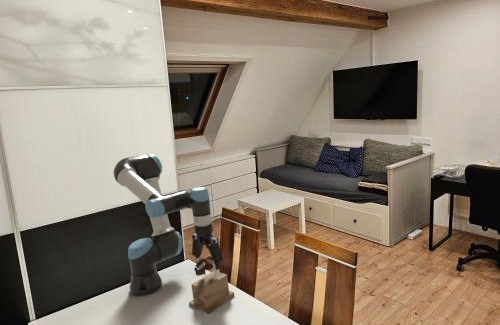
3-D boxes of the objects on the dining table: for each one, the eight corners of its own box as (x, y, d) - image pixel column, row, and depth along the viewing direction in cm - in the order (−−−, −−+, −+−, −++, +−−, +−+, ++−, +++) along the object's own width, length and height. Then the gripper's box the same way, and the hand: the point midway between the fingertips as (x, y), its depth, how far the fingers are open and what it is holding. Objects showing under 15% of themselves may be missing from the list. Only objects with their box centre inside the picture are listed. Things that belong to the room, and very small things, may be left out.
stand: (189, 305, 151) (186, 284, 149) (214, 288, 163) (212, 268, 161) (209, 313, 143) (206, 291, 142) (234, 295, 155) (232, 274, 154)
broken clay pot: (219, 280, 146) (208, 266, 143) (201, 288, 148) (190, 276, 146) (222, 260, 157) (212, 248, 154) (205, 269, 159) (194, 257, 156)
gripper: (179, 223, 151) (185, 271, 155) (215, 230, 138) (221, 283, 141) (192, 218, 157) (198, 264, 161) (228, 224, 144) (233, 275, 147)
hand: (209, 273), depth 151 cm, fingers closed on broken clay pot, 9 cm apart
